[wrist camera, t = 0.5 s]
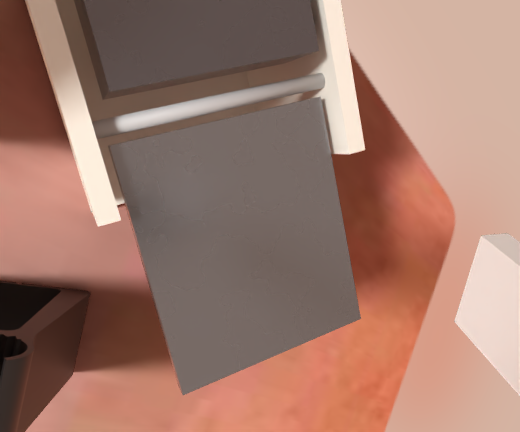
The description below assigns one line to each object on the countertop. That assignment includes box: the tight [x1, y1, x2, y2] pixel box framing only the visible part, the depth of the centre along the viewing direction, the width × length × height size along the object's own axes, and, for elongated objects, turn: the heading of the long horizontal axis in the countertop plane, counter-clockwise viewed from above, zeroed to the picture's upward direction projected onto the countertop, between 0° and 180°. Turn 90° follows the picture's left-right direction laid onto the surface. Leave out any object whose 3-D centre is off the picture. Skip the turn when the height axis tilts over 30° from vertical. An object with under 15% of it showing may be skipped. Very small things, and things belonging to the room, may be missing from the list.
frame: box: [25, 0, 365, 227], centre depth 27 cm, size 14×14×12 cm
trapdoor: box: [74, 0, 361, 395], centre depth 24 cm, size 21×11×4 cm, turn 13°
